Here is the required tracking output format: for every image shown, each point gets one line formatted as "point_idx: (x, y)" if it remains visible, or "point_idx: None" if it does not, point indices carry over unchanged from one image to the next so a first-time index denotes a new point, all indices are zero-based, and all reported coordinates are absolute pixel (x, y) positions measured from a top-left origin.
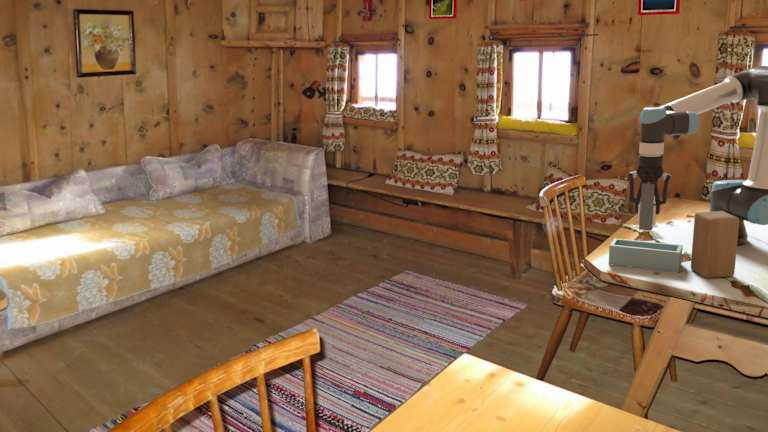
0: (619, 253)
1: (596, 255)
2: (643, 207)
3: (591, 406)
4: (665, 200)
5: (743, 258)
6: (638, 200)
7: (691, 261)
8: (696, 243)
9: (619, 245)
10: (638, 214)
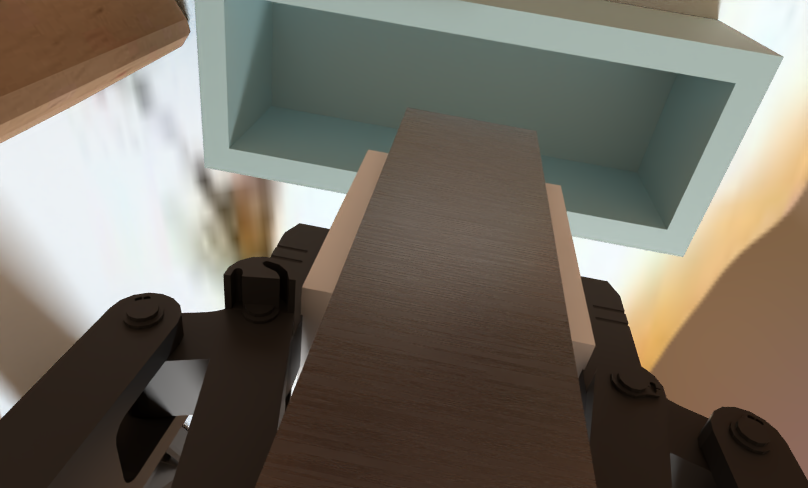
0: (671, 27)
1: (755, 200)
2: (509, 272)
3: None
4: (90, 333)
5: (6, 256)
6: (611, 406)
7: (164, 27)
8: (34, 10)
9: (686, 72)
10: (564, 241)
